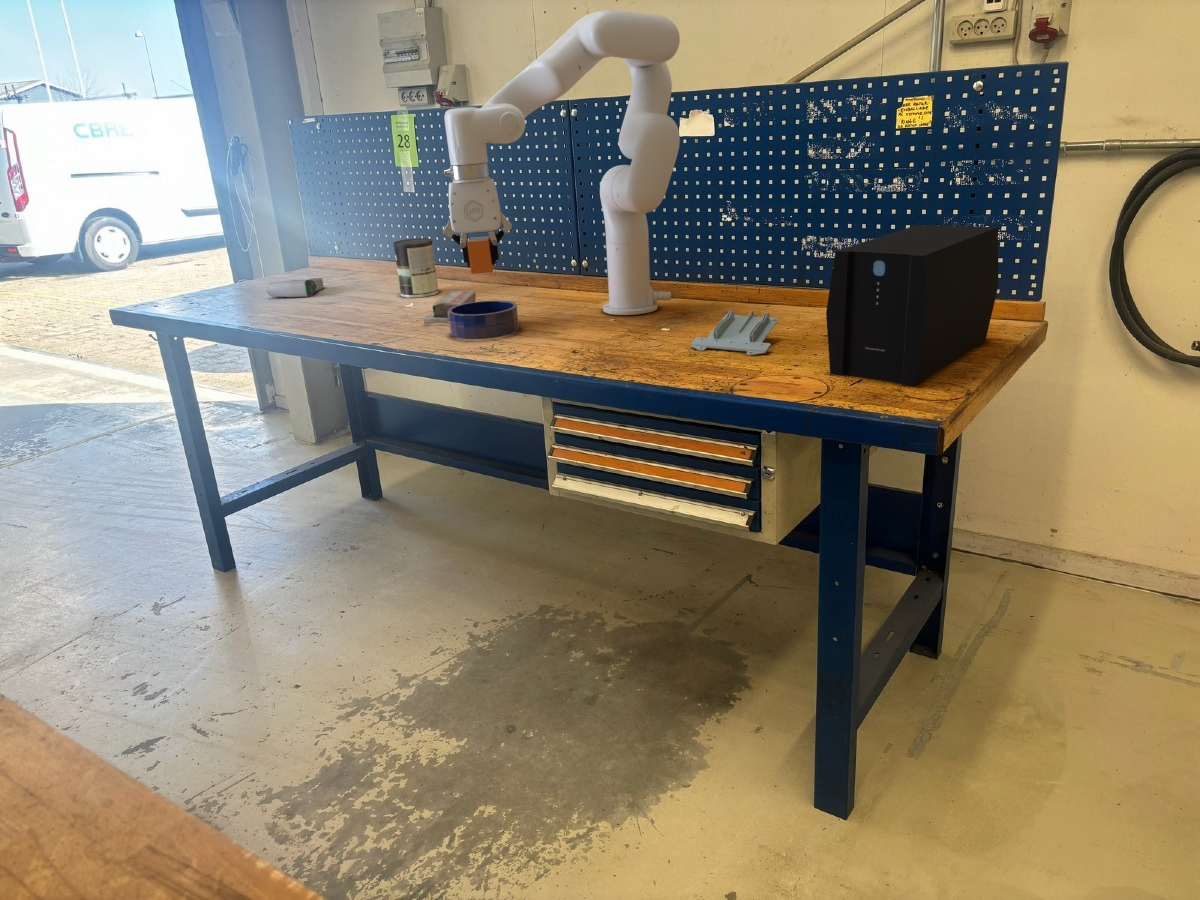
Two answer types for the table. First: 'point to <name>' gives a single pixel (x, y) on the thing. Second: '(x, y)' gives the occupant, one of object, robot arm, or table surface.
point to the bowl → (483, 319)
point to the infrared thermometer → (295, 288)
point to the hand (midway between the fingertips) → (482, 263)
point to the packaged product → (449, 305)
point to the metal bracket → (739, 334)
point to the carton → (480, 255)
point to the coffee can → (416, 267)
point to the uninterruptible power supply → (911, 301)
